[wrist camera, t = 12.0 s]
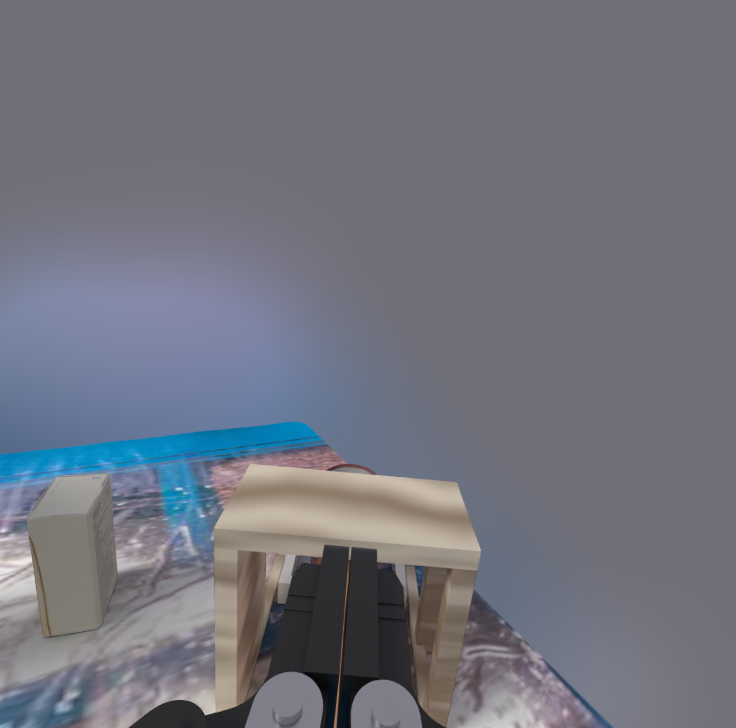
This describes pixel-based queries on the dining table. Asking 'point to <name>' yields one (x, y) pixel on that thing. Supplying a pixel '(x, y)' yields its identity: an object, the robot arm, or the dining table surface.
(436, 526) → the tunnel rail
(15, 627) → the dining table surface
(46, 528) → the skincare box
